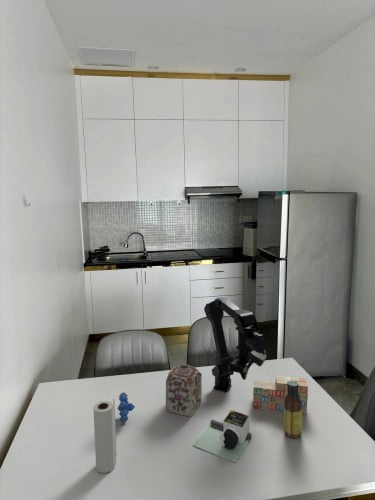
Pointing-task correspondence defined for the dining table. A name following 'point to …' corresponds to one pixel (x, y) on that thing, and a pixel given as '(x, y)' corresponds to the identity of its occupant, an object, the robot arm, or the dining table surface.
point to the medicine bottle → (234, 429)
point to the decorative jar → (183, 390)
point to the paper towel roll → (105, 436)
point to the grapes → (124, 407)
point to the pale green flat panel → (218, 445)
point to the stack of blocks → (278, 393)
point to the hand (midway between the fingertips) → (244, 379)
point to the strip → (220, 426)
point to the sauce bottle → (293, 411)
